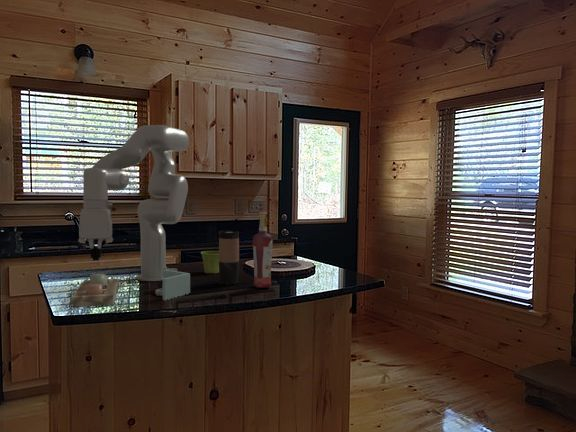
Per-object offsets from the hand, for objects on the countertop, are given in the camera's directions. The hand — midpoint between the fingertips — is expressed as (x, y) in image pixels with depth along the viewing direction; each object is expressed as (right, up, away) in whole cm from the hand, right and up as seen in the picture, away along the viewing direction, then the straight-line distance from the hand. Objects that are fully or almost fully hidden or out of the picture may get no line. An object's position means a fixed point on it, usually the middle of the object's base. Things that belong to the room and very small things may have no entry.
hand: (95, 259), depth 164 cm
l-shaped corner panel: (+22, -13, +5) cm, 26 cm away
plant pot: (+32, -10, +45) cm, 56 cm away
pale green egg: (0, -10, +1) cm, 10 cm away
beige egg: (-2, -11, +9) cm, 15 cm away
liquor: (+55, -12, +17) cm, 59 cm away
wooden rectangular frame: (0, -12, +1) cm, 12 cm away
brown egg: (+2, -13, -6) cm, 14 cm away
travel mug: (+42, -11, +24) cm, 49 cm away
